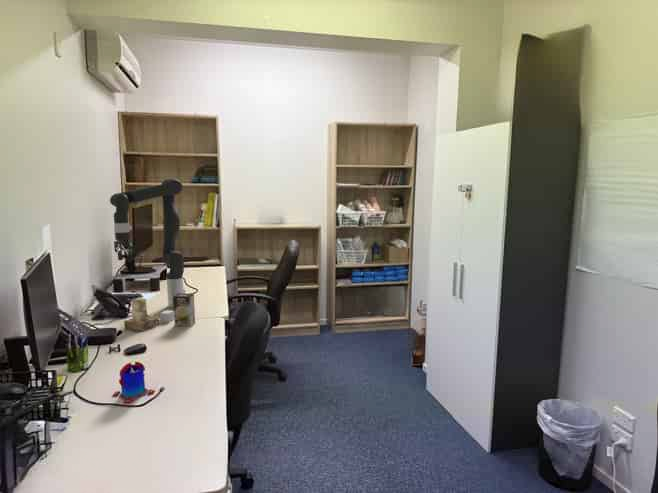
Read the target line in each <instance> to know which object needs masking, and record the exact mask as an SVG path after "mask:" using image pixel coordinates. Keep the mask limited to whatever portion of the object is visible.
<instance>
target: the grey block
mask: <svg viewBox="0 0 658 493" xmlns="http://www.w3.org/2000/svg"><path fill="white" fill-rule="evenodd" d="M159 315H160V317H159V318H160V323H171V322H173V321H175V320H174V310H167V309H166V310H163V311H162V312H160V313H159Z"/></svg>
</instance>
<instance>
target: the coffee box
mask: <svg viewBox="0 0 658 493" xmlns="http://www.w3.org/2000/svg"><path fill="white" fill-rule="evenodd" d="M173 302H174V308H173V311H174V320H173V321H174V326H175V327H192V326H194V325H195V324H196V314H195V313H196V312H195V311H196V308H195V293H186V292H185V293H178V294H176V295H175V296H173Z"/></svg>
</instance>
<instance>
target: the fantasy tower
mask: <svg viewBox="0 0 658 493" xmlns="http://www.w3.org/2000/svg"><path fill="white" fill-rule="evenodd" d="M145 371H146V367H145V365H144V364H143V363H141V362H139V361H134V364H132V362H128V363H126V364H125V365H124V366H123V367H122V368H121V369H120V370H119V376H120V379H118V383H119V385H120V387H121V391H119V390H118V391H115V392H113V394H112V395H111V397H112V398H118V399H120V400H121V401H123V405H131V404H132V403H134V401H136V400H138V399H141V398H143V397H146V396H151V395H154V394H155V393H156V390H154V389H151V388H150V389H147V388H146V384H145ZM154 392H155V393H154Z"/></svg>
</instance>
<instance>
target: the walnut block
mask: <svg viewBox="0 0 658 493" xmlns="http://www.w3.org/2000/svg"><path fill="white" fill-rule="evenodd" d="M157 322H158V321H157V318H155V317H152V316H148V315H147V320H144V321H141V322H137V321H133V317H132V318H130V319H126V320H124V322H123V323H124V330H125V329H126V330H128V331H132V332H135V333H141V332H143V331H147V330H150V329H152V328H155V327H158V323H157Z"/></svg>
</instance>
